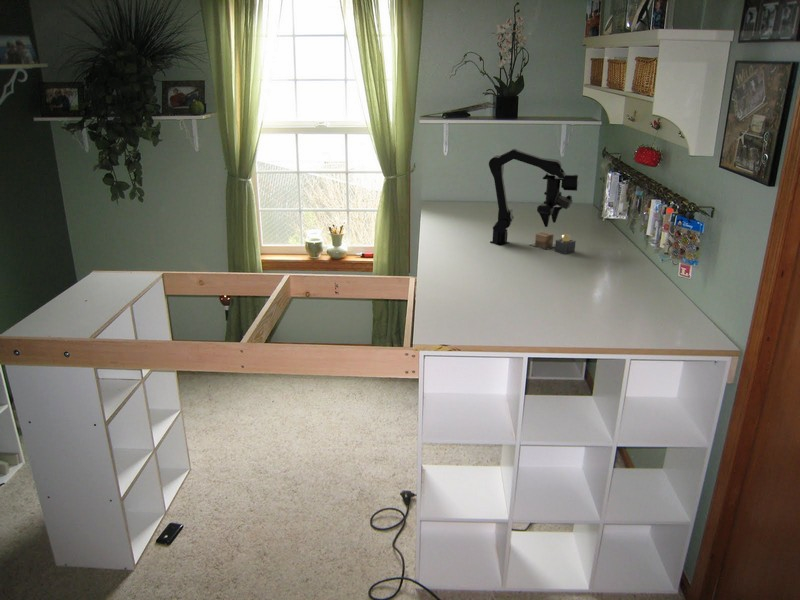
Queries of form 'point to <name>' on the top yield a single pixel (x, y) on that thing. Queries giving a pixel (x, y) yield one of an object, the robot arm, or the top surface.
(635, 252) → the top surface
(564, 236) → the pin
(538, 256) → the top surface
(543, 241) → the light brown cube-like block
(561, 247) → the press block
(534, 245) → the plate
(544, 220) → the robot arm
